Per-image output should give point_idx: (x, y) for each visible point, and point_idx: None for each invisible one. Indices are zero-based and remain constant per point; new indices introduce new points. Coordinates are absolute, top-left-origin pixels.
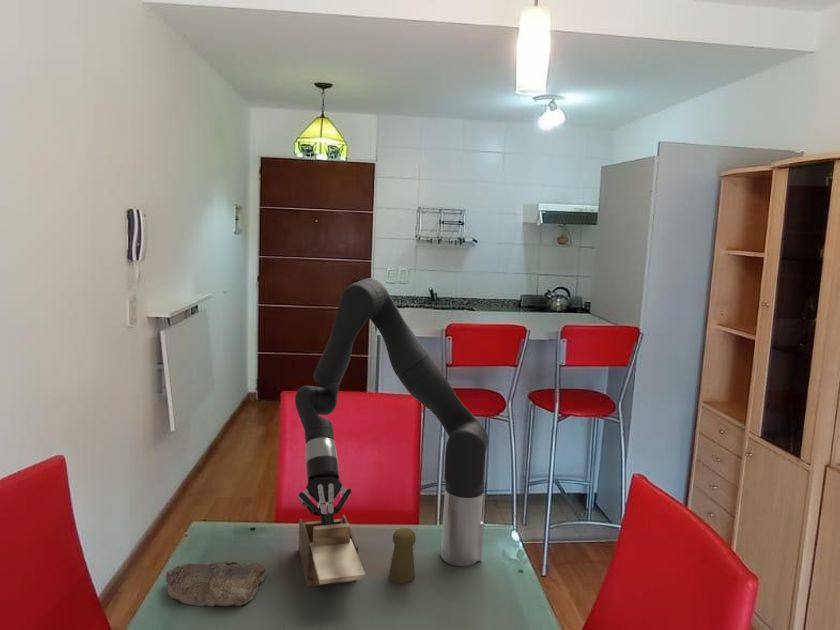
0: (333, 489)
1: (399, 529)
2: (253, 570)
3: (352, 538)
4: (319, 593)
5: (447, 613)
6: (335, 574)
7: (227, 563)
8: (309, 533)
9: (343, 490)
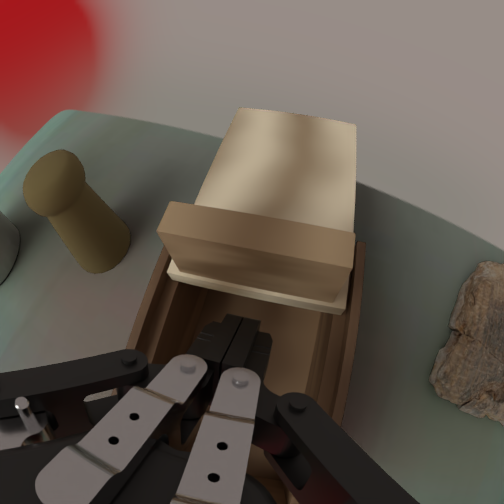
0: (66, 447)
1: (43, 179)
2: (476, 343)
3: (160, 274)
4: None
5: (127, 134)
6: (312, 124)
7: None
8: None
9: (11, 432)
